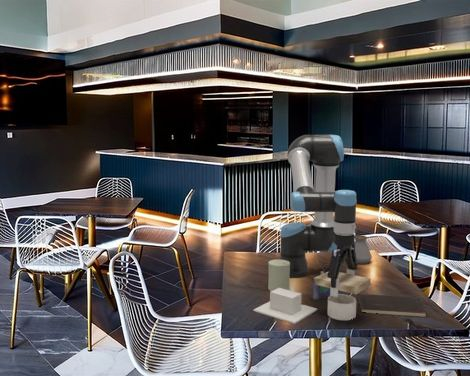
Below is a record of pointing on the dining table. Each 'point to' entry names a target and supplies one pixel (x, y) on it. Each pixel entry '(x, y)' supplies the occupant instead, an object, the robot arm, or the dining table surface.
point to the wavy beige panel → (345, 282)
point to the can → (279, 274)
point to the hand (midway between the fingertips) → (342, 291)
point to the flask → (320, 290)
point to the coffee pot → (362, 250)
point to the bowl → (342, 307)
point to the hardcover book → (391, 305)
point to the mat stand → (285, 306)
